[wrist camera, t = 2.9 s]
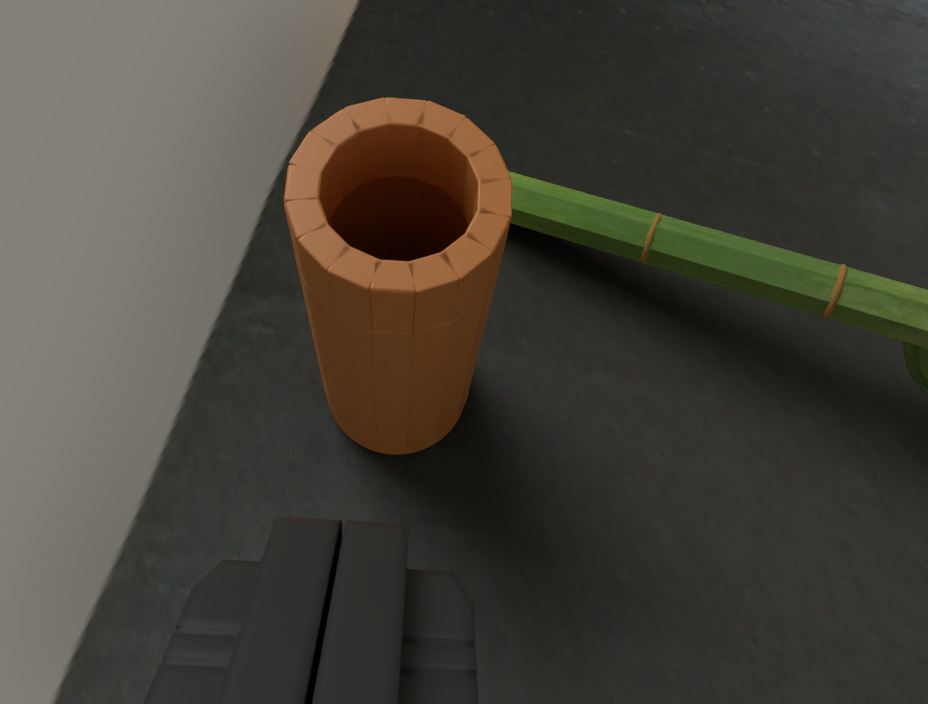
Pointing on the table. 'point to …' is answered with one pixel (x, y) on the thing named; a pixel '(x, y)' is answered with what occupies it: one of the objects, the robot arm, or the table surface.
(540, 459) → the table surface
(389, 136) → the jar
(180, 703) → the robot arm
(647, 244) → the decorative plant
